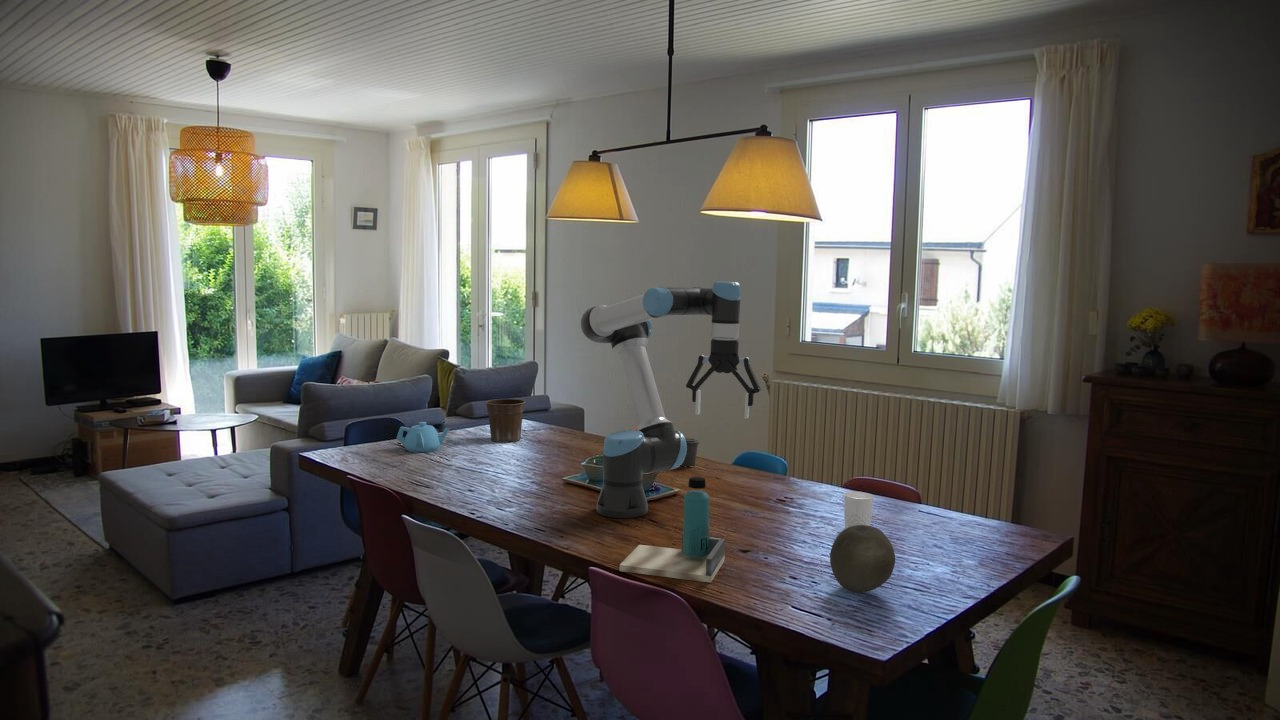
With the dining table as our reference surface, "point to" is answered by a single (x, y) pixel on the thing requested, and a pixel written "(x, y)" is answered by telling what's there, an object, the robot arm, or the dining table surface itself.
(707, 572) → the corner board
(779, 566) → the dining table surface
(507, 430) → the plant pot
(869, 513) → the white cup
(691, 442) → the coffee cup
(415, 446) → the teapot
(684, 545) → the beverage bottle
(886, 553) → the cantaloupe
